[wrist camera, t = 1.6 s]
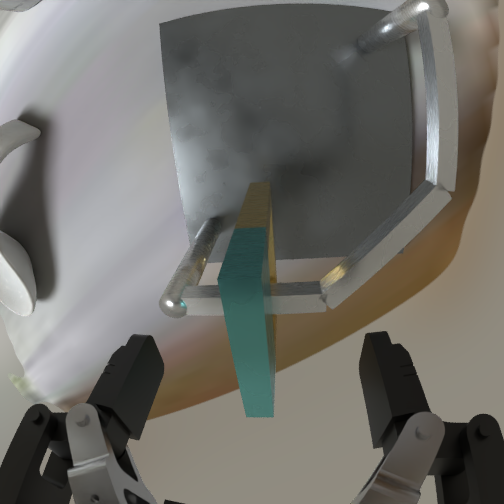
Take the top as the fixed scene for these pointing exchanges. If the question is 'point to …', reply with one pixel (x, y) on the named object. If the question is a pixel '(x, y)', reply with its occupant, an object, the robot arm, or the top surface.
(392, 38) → the rod stand
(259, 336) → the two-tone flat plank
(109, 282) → the top surface
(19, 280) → the spoon rest
